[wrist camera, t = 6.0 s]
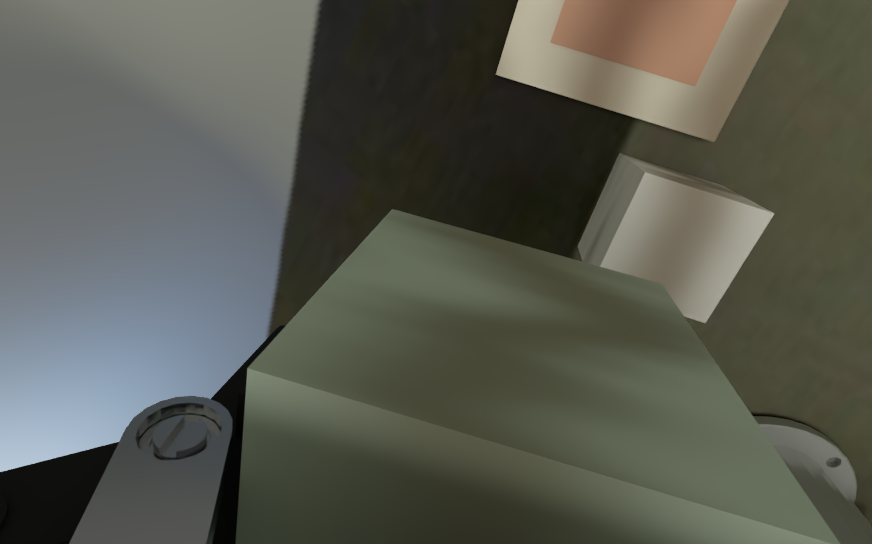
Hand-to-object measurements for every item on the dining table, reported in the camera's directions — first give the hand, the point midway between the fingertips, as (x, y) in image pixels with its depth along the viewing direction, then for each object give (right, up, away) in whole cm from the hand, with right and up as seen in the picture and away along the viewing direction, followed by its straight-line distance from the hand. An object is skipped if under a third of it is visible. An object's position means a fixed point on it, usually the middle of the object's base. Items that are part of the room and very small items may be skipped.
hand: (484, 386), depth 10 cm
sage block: (0, 0, +1) cm, 1 cm away
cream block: (+11, +6, +17) cm, 22 cm away
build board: (+10, +17, +13) cm, 23 cm away
